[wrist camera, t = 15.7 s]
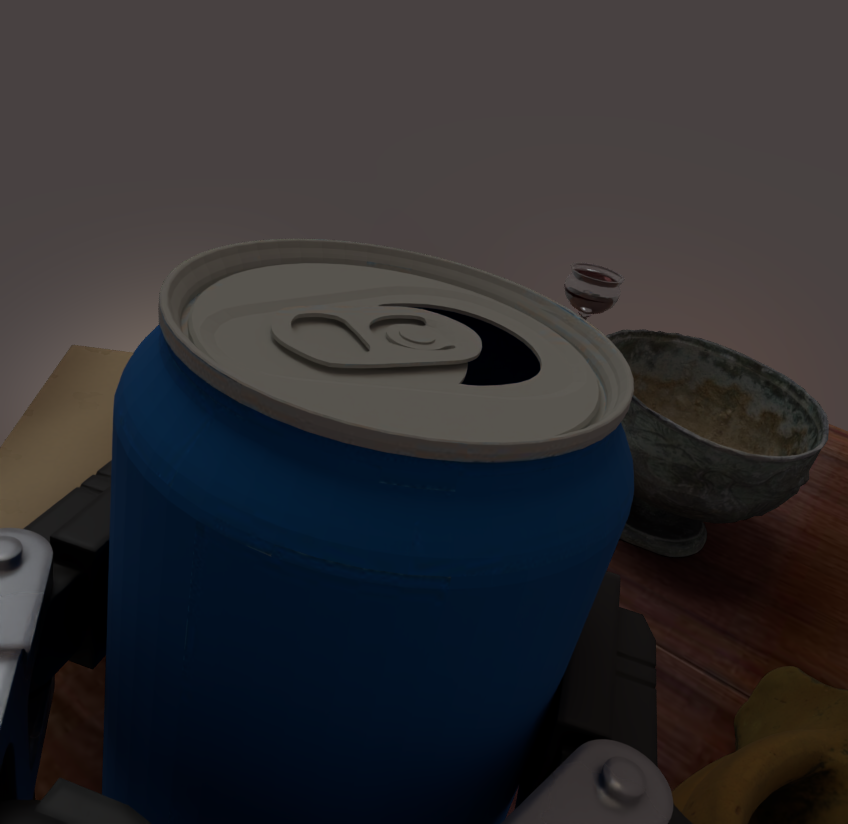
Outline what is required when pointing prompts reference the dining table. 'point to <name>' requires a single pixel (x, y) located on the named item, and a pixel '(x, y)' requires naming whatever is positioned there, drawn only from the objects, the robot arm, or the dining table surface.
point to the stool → (60, 435)
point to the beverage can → (351, 535)
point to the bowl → (709, 438)
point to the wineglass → (592, 288)
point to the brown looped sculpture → (778, 759)
